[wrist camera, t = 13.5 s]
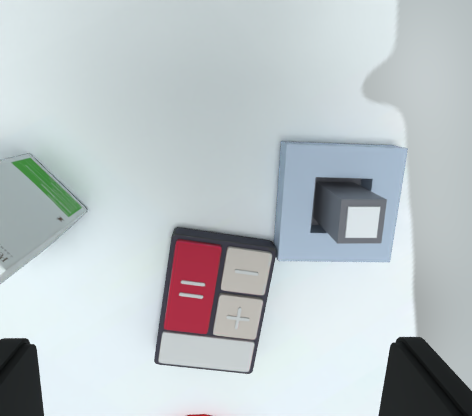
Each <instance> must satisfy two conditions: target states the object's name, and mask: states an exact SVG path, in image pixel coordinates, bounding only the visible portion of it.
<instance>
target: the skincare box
mask: <svg viewBox="0 0 472 416" xmlns="http://www.w3.org/2000/svg"><path fill="white" fill-rule="evenodd" d="M86 212H87V209H86V208H85V207H84V206H83V205H82V204H81V203H80V202H79V201H78V200H77V199H76V198H75V197H74V196H73V195H72V194H71V193H70V192H69V191H68V190H67V189H66V188H65V187H64V186H63V185H62V184H61V183H60V182H59V181H57V180H56V179H55V178H54V177H53V176H52V175H51V174H50V173H49V172H48V171H47V170H46V169H45V168H44V167H43V166H42V165H41V164H40V163H39V162H38V161H37V160H36V159H35V158H34V157H33V156H32V155H30V154H24V155H20V156H16V157H12V158H7V159H3V160H0V284H1V283H3V282H4V281H5V280H6V279H8V278H9V277H10V276H12V275H13V274H14V273H15V272H17V271H18V270H19V269H21V268H22V267H23V266H24V265H26V264H27V263H28V262H29V261H31V260H32V259H33V258H35V257H36V256H37V255H38V254H40V253H41V252H42V251H43V250H45V249H46V248H47V247H49V246H50V245H51V244H52V243H53V242H54V241H56V240H57V239H58V238H59V237H60V236H61V235H62V234H64V233H65V232H66V231H67V230H68V229H69V228H70V227H71V226H72V225H73V224H74V223H75V222H76V221H77V220H78V219H79V218H80V217H82V216H83V215H84V214H85V213H86Z"/></svg>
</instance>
